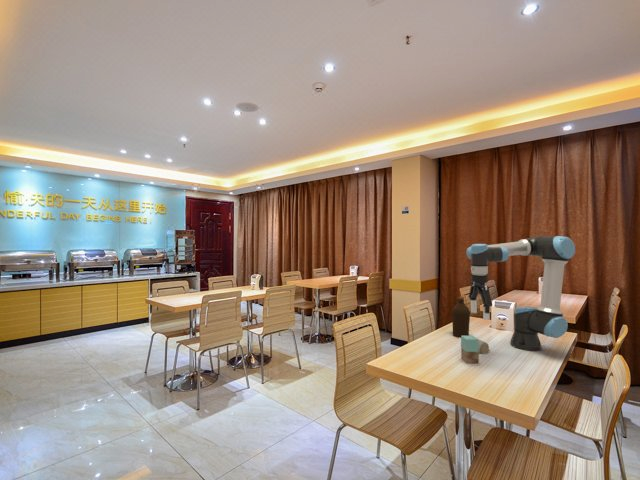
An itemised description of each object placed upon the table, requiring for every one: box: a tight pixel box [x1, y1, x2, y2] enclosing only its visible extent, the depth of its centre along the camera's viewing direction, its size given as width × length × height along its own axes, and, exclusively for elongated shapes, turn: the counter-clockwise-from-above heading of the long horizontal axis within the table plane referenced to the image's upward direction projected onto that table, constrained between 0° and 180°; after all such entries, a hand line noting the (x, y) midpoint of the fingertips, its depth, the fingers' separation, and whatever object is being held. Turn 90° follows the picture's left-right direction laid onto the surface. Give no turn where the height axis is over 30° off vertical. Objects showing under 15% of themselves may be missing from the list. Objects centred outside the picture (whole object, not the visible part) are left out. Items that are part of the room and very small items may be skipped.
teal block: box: [460, 335, 479, 352], centre depth 158 cm, size 6×6×6 cm
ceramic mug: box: [477, 338, 491, 355], centre depth 174 cm, size 11×8×8 cm
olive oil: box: [451, 296, 471, 339], centre depth 204 cm, size 11×11×25 cm
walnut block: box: [460, 347, 480, 365], centre depth 158 cm, size 6×6×6 cm
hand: (479, 316), depth 161 cm, fingers open, 13 cm apart
